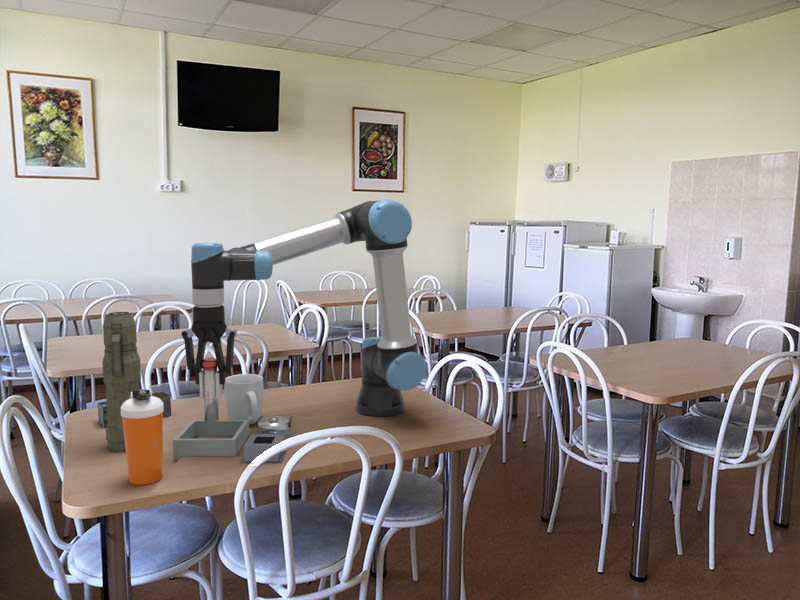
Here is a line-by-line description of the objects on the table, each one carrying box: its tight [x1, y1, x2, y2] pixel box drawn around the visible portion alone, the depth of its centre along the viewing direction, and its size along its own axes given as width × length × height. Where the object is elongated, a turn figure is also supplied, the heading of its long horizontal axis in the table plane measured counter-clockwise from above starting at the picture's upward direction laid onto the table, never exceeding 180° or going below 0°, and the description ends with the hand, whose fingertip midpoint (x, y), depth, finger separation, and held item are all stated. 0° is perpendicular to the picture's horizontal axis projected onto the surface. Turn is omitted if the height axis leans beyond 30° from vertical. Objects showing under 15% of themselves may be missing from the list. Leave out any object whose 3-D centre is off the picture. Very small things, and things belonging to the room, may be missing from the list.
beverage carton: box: [97, 391, 172, 429], centre depth 177 cm, size 8×19×7 cm, turn 127°
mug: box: [223, 373, 264, 426], centre depth 172 cm, size 15×11×13 cm
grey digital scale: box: [239, 415, 296, 464], centre depth 152 cm, size 22×10×7 cm, turn 1°
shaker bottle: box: [121, 389, 164, 486], centre depth 135 cm, size 9×9×20 cm
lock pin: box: [201, 357, 220, 422], centre depth 151 cm, size 4×4×16 cm
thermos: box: [101, 311, 142, 453], centre depth 153 cm, size 9×12×35 cm
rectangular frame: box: [172, 419, 250, 463], centre depth 153 cm, size 15×15×6 cm
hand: (211, 396), depth 151 cm, fingers closed on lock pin, 3 cm apart
